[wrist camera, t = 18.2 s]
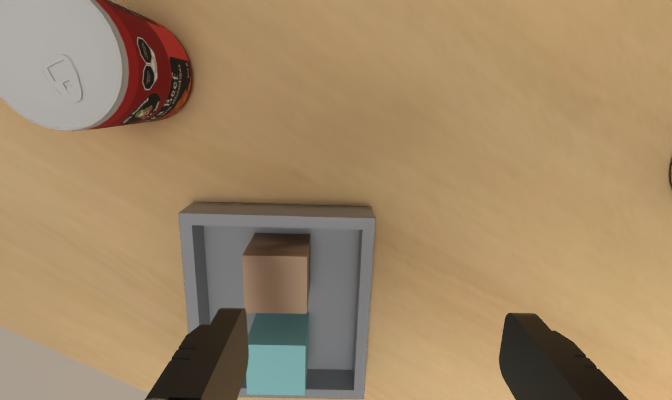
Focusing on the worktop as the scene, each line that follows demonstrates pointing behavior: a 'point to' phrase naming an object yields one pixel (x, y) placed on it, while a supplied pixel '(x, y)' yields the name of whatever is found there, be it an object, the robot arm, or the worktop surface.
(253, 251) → the walnut block
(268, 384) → the teal block
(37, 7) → the canned food
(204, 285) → the tray
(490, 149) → the worktop surface
